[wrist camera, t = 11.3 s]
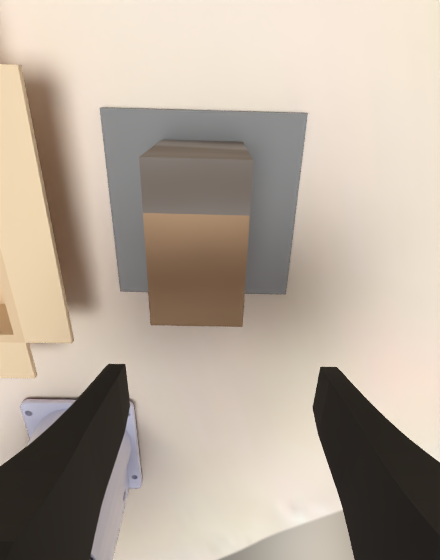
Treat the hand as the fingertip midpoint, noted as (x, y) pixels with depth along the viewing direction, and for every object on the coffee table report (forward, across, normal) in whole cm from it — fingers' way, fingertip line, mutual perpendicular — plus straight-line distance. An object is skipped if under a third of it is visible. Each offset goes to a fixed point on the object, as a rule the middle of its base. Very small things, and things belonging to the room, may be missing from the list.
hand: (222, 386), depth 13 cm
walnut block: (+9, +1, -4) cm, 10 cm away
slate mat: (+9, +1, -4) cm, 10 cm away
